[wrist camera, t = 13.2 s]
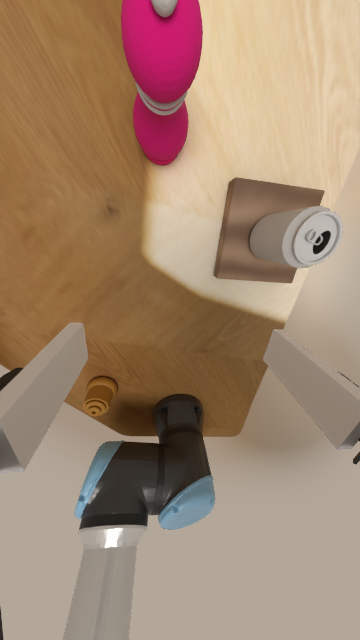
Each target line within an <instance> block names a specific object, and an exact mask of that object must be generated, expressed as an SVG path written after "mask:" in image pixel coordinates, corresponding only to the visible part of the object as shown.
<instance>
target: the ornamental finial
mask: <svg viewBox="0 0 360 640" xmlns="http://www.w3.org/2000/svg"><path fill="white" fill-rule="evenodd" d="M116 393H117V385H116V383H115V382H114V381H113V380H112V379H110V378H107V377H98V378H95V379H93V380H92V381H90V383H89V384H88V386H87V396H86V399H85V401H84V404H83V409H84V410H85V411H86V413H88V414H89V415H90V416H99V415H102V414H104V413H106V412H107V411H108V408H109V405H110V403H111V400H112V398H114V397H115V395H116Z"/></svg>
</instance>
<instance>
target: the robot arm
mask: <svg viewBox="0 0 360 640" xmlns="http://www.w3.org/2000/svg"><path fill="white" fill-rule="evenodd" d="M87 360H88V352H87V345H86V339H85V332H84V326H83V323H73V322H70V323H69V324H68V325H67V326H66V327H65V328H64V329H63V330H62V331H61V332H60V333H59V334H58V335H57V336H56V337H55V338H54V339H53V340H52V341H51V342H50V343H49V344H48V345H47V346H46V347H45V348H44V349H43V350H42V351H41V352H40V353H39V354H38V355H37V356H36V357H35V358H34V359H33V360H32V361H31V362H30V363H29V364H28V365H27V366H26V367H25V368H15V369H14V370H12V371H10V372H9V373H7V374H5V375H4V376H2V377H1V378H0V473H9V472H23V471H25V469H26V467H27V465H28V464H29V462H30V460H31V458H32V456H33V455H34V453H35V451H36V450H37V448H38V446H39V444H40V443H41V441H42V439H43V437H44V435H45V434H46V432H47V430H48V428H49V427H50V425H51V423H52V421H53V420H54V418H55V416H56V414H57V413H58V411H59V409H60V407H61V406H62V404H63V402H64V400H65V399H66V397H67V395H68V393H69V392H70V390H71V388H72V386H73V385H74V383H75V381H76V379H77V377H78V376H79V374H80V372H81V370H82V369H83V367H84V365H85V363H86V362H87ZM263 361H264V362H265V363H266V364H267V366H268V367H269V368H270V369H271V370H272V372H273V373H274V374H275V375H276V376H277V378H278V379H279V380H280V381H281V382H282V384H283V385H284V386H285V387H286V388H287V389H288V391H289V392H290V393H291V394H292V396H293V397H294V398H295V399H296V401H297V402H298V403H299V404H300V405H301V407H302V408H303V409H304V410H305V411H306V413H307V414H308V415H309V416H310V417H311V419H312V420H313V421H314V422H315V423H316V425H317V426H318V427H319V428H320V429H321V431H322V432H323V433H324V434H325V435H326V437H327V438H328V439H329V440H330V442H331V443H332V444H333V445H334V446H335V448H336V449H337V450H340V449H352V448H353V446H354V445H355V444H356V443H357V442H358V440H359V441H360V388H359V386H357V385H356V384H355V383H353V382H351V380H349V379H348V378H347V377H345V376H344V375H343V374H341V373H339V372H338V371H336V370H335V369H334V368H332V367H331V366H330V365H329V364H327V363H326V362H325V361H323V360H322V359H321V358H319V357H318V356H317V355H315V354H314V353H313V352H312V351H310V350H309V349H308V348H306V347H305V346H304V345H302V344H301V343H300V342H298V341H297V340H296V339H295V338H293V337H292V336H291V335H289V334H288V333H287V332H285V331H284V330H278V329H274V330H273V332H272V335H271V338H270V341H269V344H268V346H267V349H266V352H265V355H264V358H263ZM203 418H204V412H203V408H202V405H201V403H200V401H199V400H198V399H196V398H195V397H193V396H190V395H184V394H178V395H172V396H169V397H166V398H164V399H163V400H161V401H160V402H159V403H158V404H157V405H156V406H155V408H154V412H153V422H154V425H155V428H156V432H157V435H158V437H159V444H157V443H140V442H124V441H118V442H117V441H115V442H114V441H113V442H110V441H109V442H105V443H103V444H102V445H101V446H100V447H99V449H98V451H97V452H96V454H95V456H94V459H93V461H92V463H91V466H90V468H89V471H88V473H87V476H86V478H85V481H84V484H83V487H82V490H81V494H80V496H79V500H78V502H77V505H76V509H75V516H76V517H77V518H78V519H81V518H82V521H81V524H80V528H79V533H78V534H79V536H80V539H81V541H82V544H83V548H84V551H83V555H82V560H81V564H80V568H79V572H78V577H77V581H76V585H75V589H74V594H73V598H72V602H71V607H70V611H69V616H68V619H67V624H66V628H65V632H64V636H63V640H129V629H130V618H131V607H132V595H133V584H134V573H135V562H136V551H137V545H138V543H139V541H140V539H141V538H142V536H143V535H144V533H145V532H146V530H147V521H148V515H159V517H158V520H159V523H160V526H161V527H162V528H163V529H169V530H171V529H172V530H173V529H179V528H182V527H185V526H188V525H191V524H193V523H195V522H197V521H199V520H201V519H202V518H204V517H205V516H206V515H208V514H209V513H210V511H211V510H212V509H213V507H214V504H215V493H214V487H213V477H212V476H211V471H210V467H209V462H208V458H207V453H206V449H205V444H204V440H203V435H202V430H203ZM359 461H360V452H359V453H358V454H357V456H356V457H355V458H354V459H353V463H354V464H357V463H358V462H359ZM0 640H3V631H2V620H1V610H0Z"/></svg>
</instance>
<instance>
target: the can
mask: <svg viewBox="0 0 360 640" xmlns="http://www.w3.org/2000/svg"><path fill="white" fill-rule="evenodd" d="M342 233H343V224H342V221H341V219H340V217H339V216H338V215H337V214H336V213H335V212H332V211H331V210H330V209H329V208H326V207H323V206H315V207H308V208H302V209H297V210H291V211H286V212H280V213H274V214H269V215H267V216H265V217H263V218H262V219H261V220H259V221H258V222H257V224H256V225H255V227H254V228H253V230H252V233H251V235H250V247H251V251H252V252H253V254H254V255H255V256H256V257H258V258H259V259H263V260H267V261H271V262H275V263H279V264H284V265H288V266H292V267H296V268H307V267H310V266H312V265H316V264H318V263H321V262H323V261H324V260H326V259H327V258H328V257H330V256H331V254H332V253H333V252H334V251H335V250H336V248H337V246H338V244H339V243H340V240H341V237H342Z"/></svg>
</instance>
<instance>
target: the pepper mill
mask: <svg viewBox="0 0 360 640" xmlns="http://www.w3.org/2000/svg"><path fill="white" fill-rule="evenodd" d="M121 26H122V40H123V47H124V52H125V56H126V60H127V63H128V66H129V68H130V71H131V73H132V75H133V77H134V79H135V82H136V86H137V90H138V94H137V96H136V99H135V103H134V109H133V122H134V129H135V134H136V137H137V140H138V142H139V144H140V145H141V147H142V149H143V151H144V153H145V155H146V156H147V157H148V159H149V160H150V161H152V162H153V163H155V164H157V165H167V164H169V163H171V162H172V161H173V160H174V159H175V158H176V157H177V155H178V153H179V152H180V151H181V149H182V147H183V146H184V143H185V141H186V137H187V131H188V113H187V109H186V105H185V101H184V99H185V97H186V94H187V90H188V89H189V88H190V86H191V84H192V82H193V80H194V78H195V75H196V72H197V70H198V67H199V62H200V56H201V49H202V35H203V31H202V18H201V11H200V5H199V2H198V0H123V2H122V14H121Z"/></svg>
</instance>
